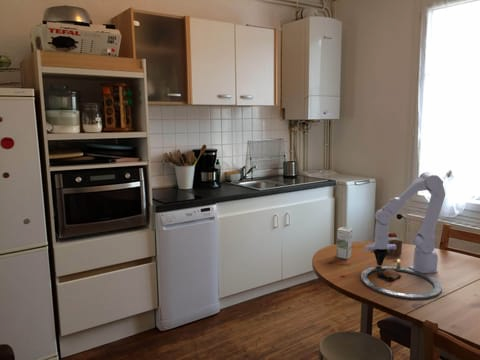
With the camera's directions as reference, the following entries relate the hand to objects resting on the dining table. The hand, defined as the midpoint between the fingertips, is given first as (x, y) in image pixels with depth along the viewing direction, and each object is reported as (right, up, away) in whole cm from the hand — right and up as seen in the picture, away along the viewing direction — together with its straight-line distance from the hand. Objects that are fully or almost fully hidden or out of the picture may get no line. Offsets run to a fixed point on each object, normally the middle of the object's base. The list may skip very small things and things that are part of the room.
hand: (379, 264), depth 180 cm
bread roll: (+1, -4, -9) cm, 10 cm away
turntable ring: (+4, -4, -13) cm, 14 cm away
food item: (+14, +2, +23) cm, 27 cm away
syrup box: (-13, +1, +14) cm, 19 cm away
